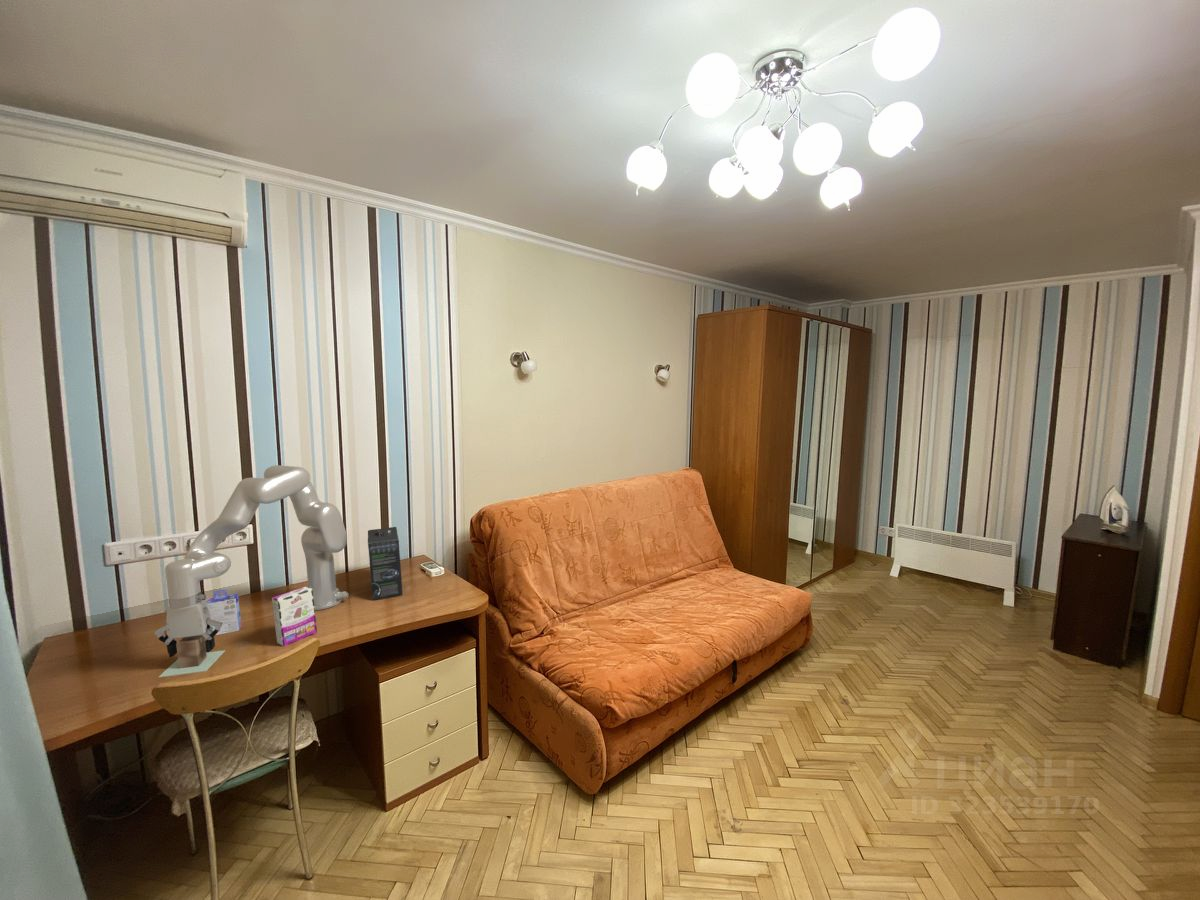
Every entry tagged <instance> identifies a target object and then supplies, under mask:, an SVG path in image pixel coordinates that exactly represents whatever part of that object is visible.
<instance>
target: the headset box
mask: <svg viewBox="0 0 1200 900" xmlns="http://www.w3.org/2000/svg"><path fill="white" fill-rule="evenodd" d="M367 549H368V556H369V557H368V559H369V560H368V561H369V569H370V570H369V571H370V584H371V585H370V587H371V600H372V601H375V600H376V601H377V600H382V599H387V598H388V599H389V598H394V597H399V596H403V582H402V579H403V577H402V564H401V555H400V554H401V553H400V551H401V550H400V540H399V535H398V529H397V526H393V527H392V526H391V527H385V528H384V527H383V528H377V529H369V530H367Z"/></svg>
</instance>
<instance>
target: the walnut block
mask: <svg viewBox="0 0 1200 900" xmlns="http://www.w3.org/2000/svg"><path fill="white" fill-rule="evenodd" d="M205 641H206V638H205V637H203V636H202V635H200V636H192V637H184V638H180V640H179V641H177V644H176V647H177V653H176V654H177V659H178V662H179V669H180V668H188V667H195V666H199V665H200V664H201V663H202V662H203V661H204V660H205V659H206V658H207V652H206V645H205Z"/></svg>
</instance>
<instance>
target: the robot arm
mask: <svg viewBox="0 0 1200 900" xmlns="http://www.w3.org/2000/svg"><path fill="white" fill-rule="evenodd" d="M316 491H317V490H316V489H315V487H314V485H313V483H312V482H311V475H310V472H309V471H308V470H307V469H306V468H304V467H301V466H292V465H291V466H289V465H280V464H278V465H276V464H275V465H271V466H269V467H267V468H266V469H265V470H264V473H263V477H246V478H243V479H241V481H239V482H238V484H237V485H236V487H235V489H234V490H233V491H232V493H231V495H230V497H229V498H228V500H227V502H226V505H225V506H223V509H222V511H221V513H220V514H219V516H218V517H217V518H216V519H215V520H214V521H212V522H211V523H210V524H209V525H207V527H205V528H204V530H202V531H200V533H199V534H198V535H197V536H196V538H195V539H194V540H193V542H192V543H191V545H190V547H189V549H188V550H187V552H186V553H185V557H184V558H182V559H177V560H175V561H171V562H169V563H168V564H167V565H166V566H165V567H164V573H165V580H166V587H167V595H168V603H169V606H168V607H167V611H166V616H165V619H166V621H165V622H166V623H165V625H164V626H161V627H160V628H158V629H157V630H155V631H154V635H155V636H156V638H158V641H160V642H162V643H163V644H164V645H165V646H166V649H167V654H168V656H169V658H173V657H174V656H175V655H176V654H177V647H176V644H177V643H178V641H177V640H176V639H183V638H184V637H192V636H200V635H202V636H203V637H205V645H206V653H208V652H212V650H213V649H214V648H215V646H216V641H215V636H217V635H216V634H217V633H218V632H219V631H220V629H221V626H222V624H223V623H222V622H219V621H215V620H212V619H211V616H210V612H209V608H208V606H207V603H206V601H205V599H207V595H206V594H203V593H202V590H201V584H200V581H203V580H208V579H212V578H213V579H214V578H217V577H220V576H223V575H225V574H226V573H227V572H228V571H229V570H230V568H231V566H232V561H231V558H230V557H228V556H227V554H224V553H220V552H215V551H216V550H217V548H218V546H219V545H220V544H221V543H222V542H223V541H224V540H225V539H227V537H229V536H232V535H234V534H236V533H238V532H240V531H242V530H244V529H247V528H248V527H249V525H250V522H252V521H251V520H252V519H253V517H254V515H255V514H256V512H257V510H258V507H259V506H260V504H264V505H265V504H267V505H269V504H272V503H275V502H278V501H281V500H283V499H285V498H288V497H289V498H290V501H291V505H292V507H293V509H294V511H295V514H296V518H297V521H298V522H299V523H300V525H303V526H307V528H306V529H304V530H303V532H302V535H301V538H300V541H301V542H300V543H301V546H302V550H303V553H304V557H305V558H304V559H305V564H306V566H305V567H306V574H307V576H306V579H307V587H309V588H312V590H313V599H314V609H315V611H319V610H326V609H330V608H332V607H335V606H337V605H339V604H340V603H341V602H342V599H346V598H347V599H348V598H349V592H347V591H340V590H339V587H337V583H336V580H337V579H336V569H335V558H334V554H336V553H339V552H342V551H343V550H344V549H345V547H346V545H347V543H348V535H347V530H346V528H345V523H344V521H343V518H342V515H341V512H340V510H339V508H338V507H337V506H336V505H334V504H333V503H329V502H323V501H321V500H320V499H319V497H318V494H317V492H316ZM212 626H214V627H215V629H214V631H212V630H211V629H210V628H211V627H212ZM165 631H166V633H165Z"/></svg>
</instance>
